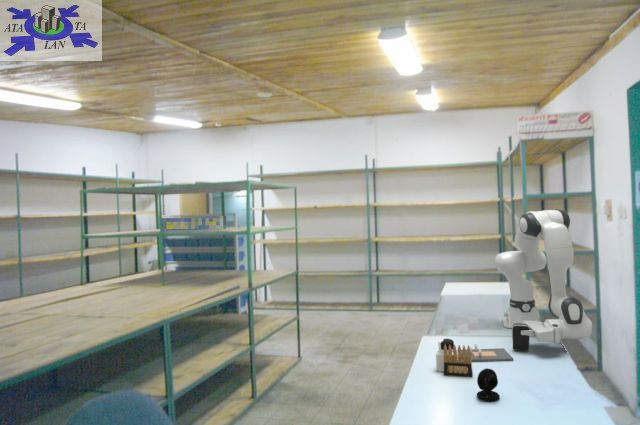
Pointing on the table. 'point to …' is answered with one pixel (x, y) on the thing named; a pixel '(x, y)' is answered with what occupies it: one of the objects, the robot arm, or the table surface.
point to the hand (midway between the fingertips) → (518, 330)
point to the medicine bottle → (441, 353)
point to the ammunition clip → (457, 362)
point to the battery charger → (520, 337)
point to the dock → (488, 355)
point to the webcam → (487, 385)
